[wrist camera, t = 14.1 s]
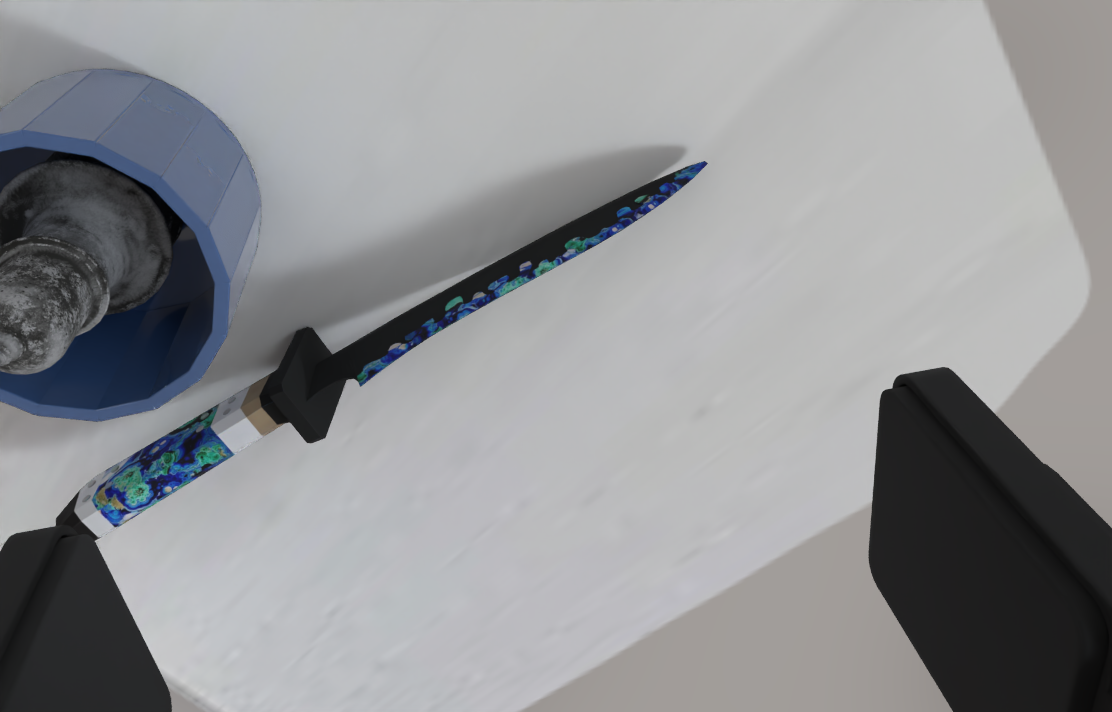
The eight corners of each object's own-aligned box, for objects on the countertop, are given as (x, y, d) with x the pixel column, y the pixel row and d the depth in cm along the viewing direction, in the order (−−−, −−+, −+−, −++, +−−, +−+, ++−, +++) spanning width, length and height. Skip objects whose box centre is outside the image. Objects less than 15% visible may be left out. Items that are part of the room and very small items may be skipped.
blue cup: (-66, 99, 34) (-187, 173, 27) (208, 42, 34) (158, 101, 27) (57, 335, 39) (-18, 448, 32) (294, 284, 39) (270, 384, 32)
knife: (88, 503, 42) (67, 569, 38) (42, 455, 40) (16, 518, 36) (701, 197, 42) (742, 232, 38) (680, 137, 40) (721, 167, 36)
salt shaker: (218, 249, 37) (146, 416, 27) (78, 292, 37) (-47, 474, 27) (147, 109, 34) (36, 236, 24) (-5, 156, 34) (-181, 302, 24)
